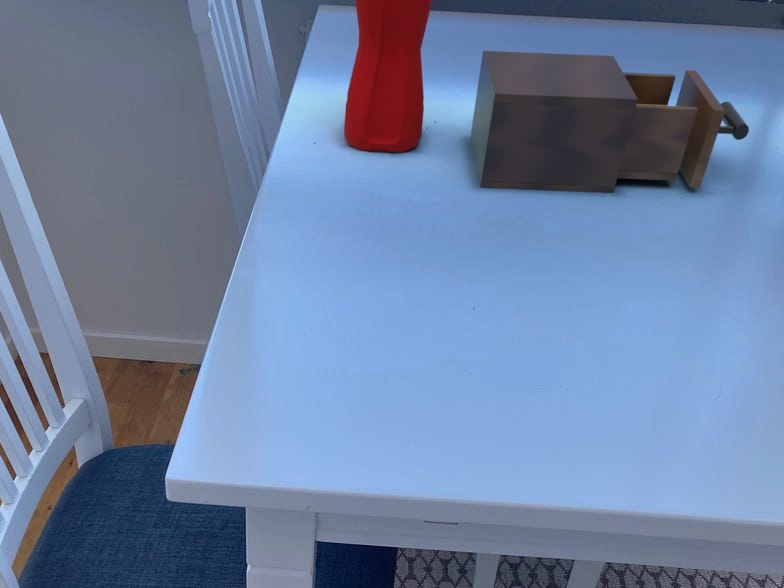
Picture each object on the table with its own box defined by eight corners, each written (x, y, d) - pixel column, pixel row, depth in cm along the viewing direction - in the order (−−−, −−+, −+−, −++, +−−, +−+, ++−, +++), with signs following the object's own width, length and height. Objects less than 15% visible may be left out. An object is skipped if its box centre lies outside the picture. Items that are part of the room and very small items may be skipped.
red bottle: (420, 124, 117) (448, -132, 99) (420, 158, 110) (450, -111, 91) (346, 119, 118) (360, -137, 99) (341, 154, 110) (355, -116, 92)
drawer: (710, 145, 112) (734, 71, 107) (738, 189, 104) (766, 112, 98) (560, 139, 113) (576, 65, 107) (577, 183, 104) (595, 105, 98)
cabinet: (591, 147, 114) (613, 55, 106) (612, 195, 104) (638, 99, 97) (469, 142, 114) (483, 50, 106) (479, 190, 104) (495, 93, 97)
